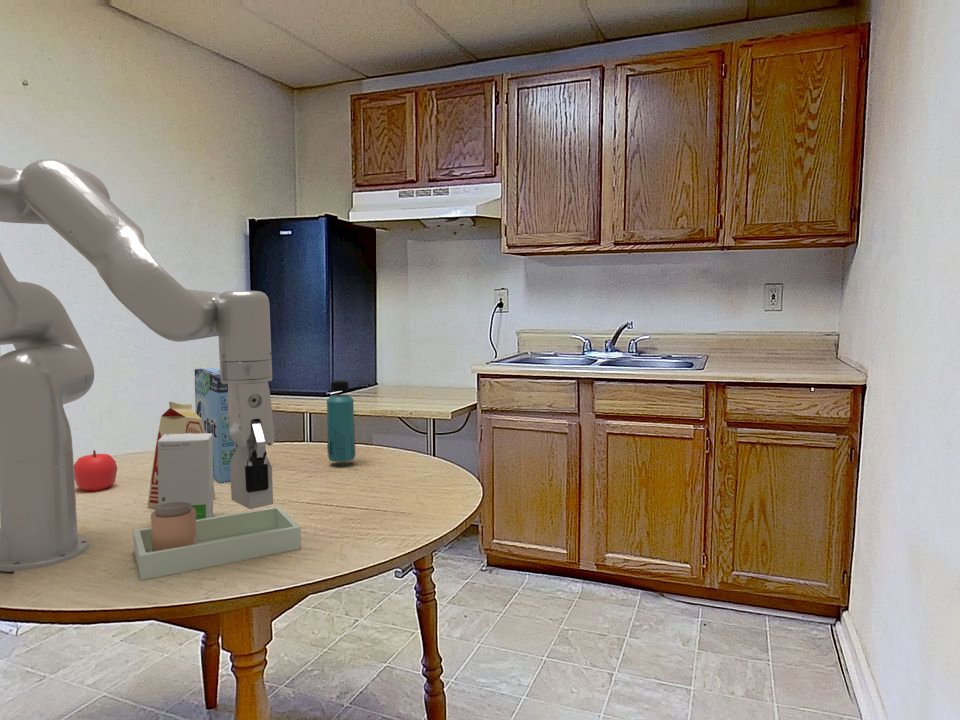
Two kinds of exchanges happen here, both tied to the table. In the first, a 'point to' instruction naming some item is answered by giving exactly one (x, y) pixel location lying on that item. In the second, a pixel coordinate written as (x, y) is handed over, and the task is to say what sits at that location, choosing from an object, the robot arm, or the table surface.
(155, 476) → the milk carton
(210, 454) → the skincare box
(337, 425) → the beverage bottle
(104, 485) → the apple
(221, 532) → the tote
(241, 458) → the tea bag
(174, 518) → the jar
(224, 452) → the gum box
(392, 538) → the table surface
